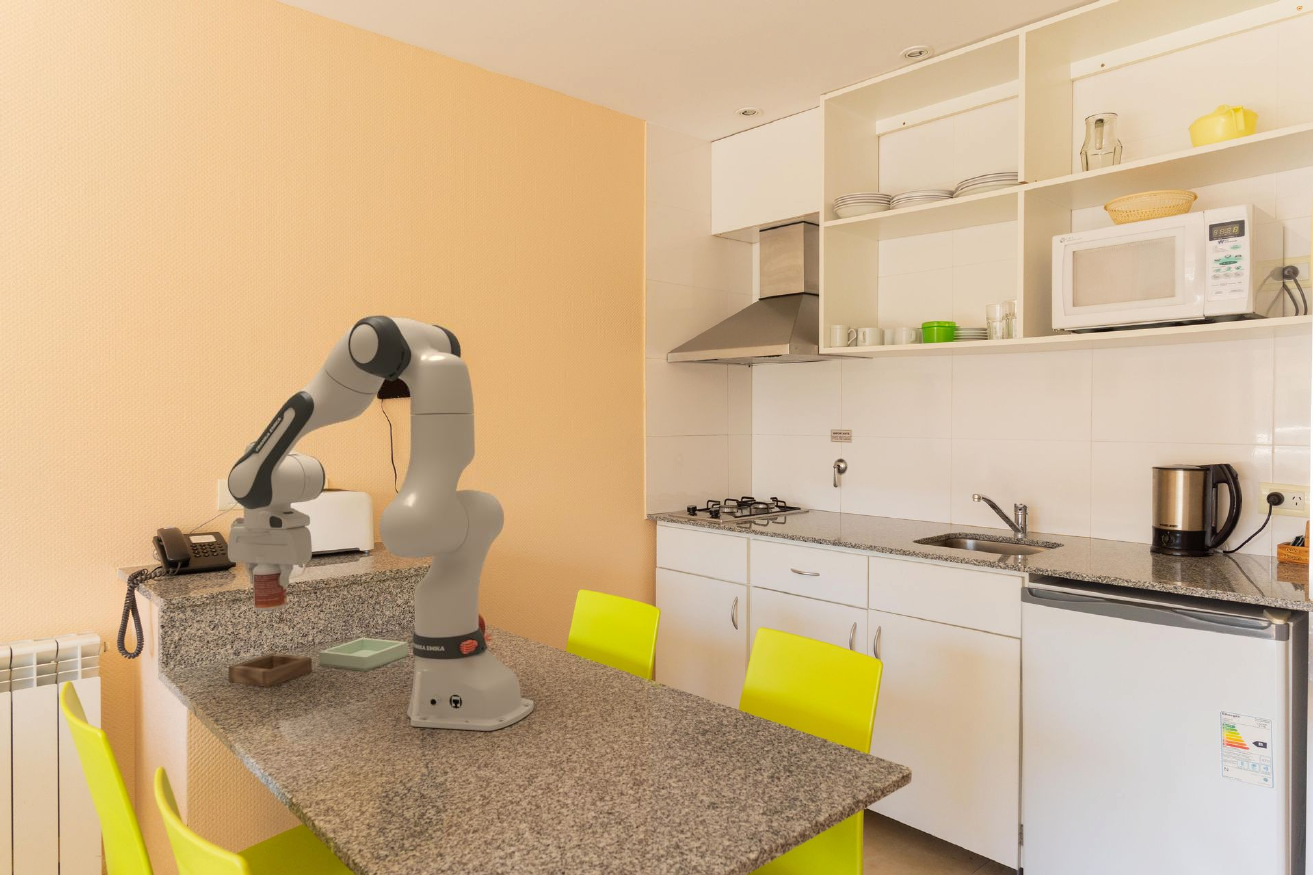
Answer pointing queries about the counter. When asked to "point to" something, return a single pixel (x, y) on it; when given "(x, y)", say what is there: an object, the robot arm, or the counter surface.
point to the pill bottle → (267, 586)
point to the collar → (270, 669)
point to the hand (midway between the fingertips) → (269, 584)
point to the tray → (363, 654)
